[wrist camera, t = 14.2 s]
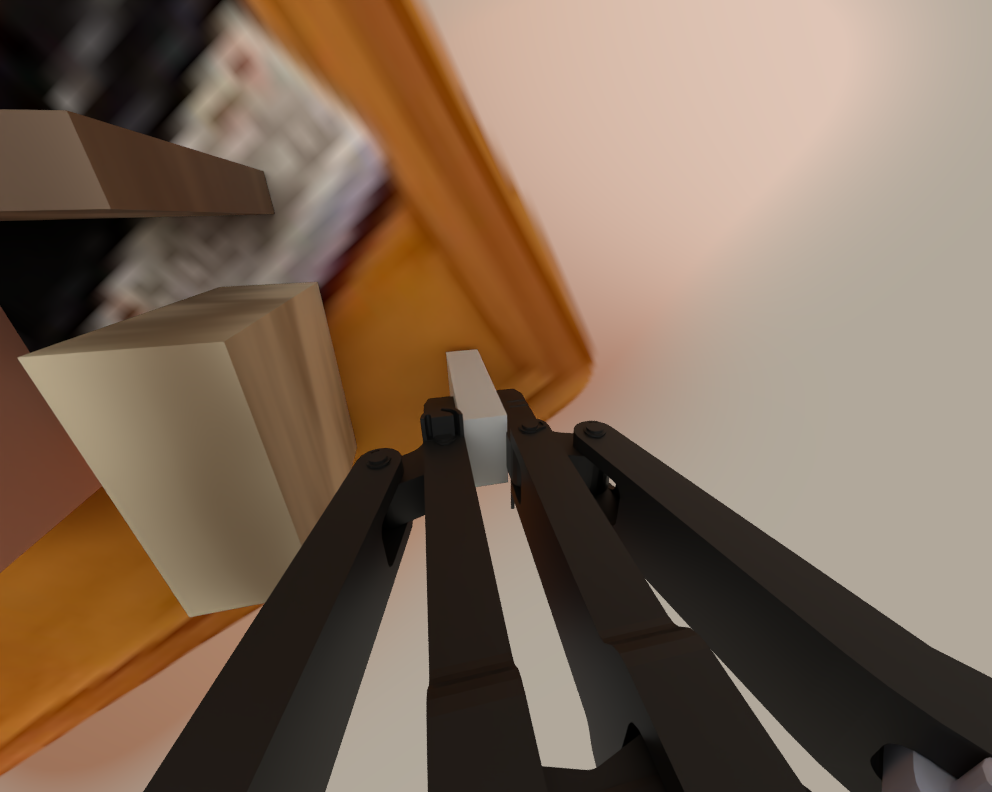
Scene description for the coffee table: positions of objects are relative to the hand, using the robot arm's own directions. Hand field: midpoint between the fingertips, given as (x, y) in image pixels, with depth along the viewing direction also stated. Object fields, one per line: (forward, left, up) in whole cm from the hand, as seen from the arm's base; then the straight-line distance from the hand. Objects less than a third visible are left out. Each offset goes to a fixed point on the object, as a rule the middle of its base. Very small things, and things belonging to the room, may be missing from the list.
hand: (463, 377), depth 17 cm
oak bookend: (-8, 0, -2) cm, 8 cm away
